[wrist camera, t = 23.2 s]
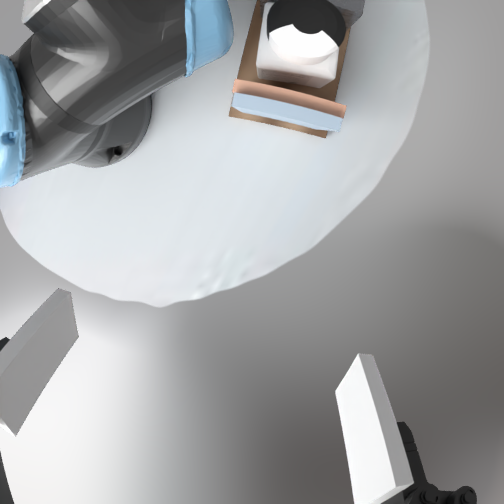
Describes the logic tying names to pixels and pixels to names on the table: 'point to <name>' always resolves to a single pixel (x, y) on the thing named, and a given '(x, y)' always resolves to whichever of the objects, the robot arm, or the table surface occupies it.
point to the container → (300, 42)
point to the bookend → (347, 3)
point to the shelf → (250, 74)
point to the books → (287, 105)
